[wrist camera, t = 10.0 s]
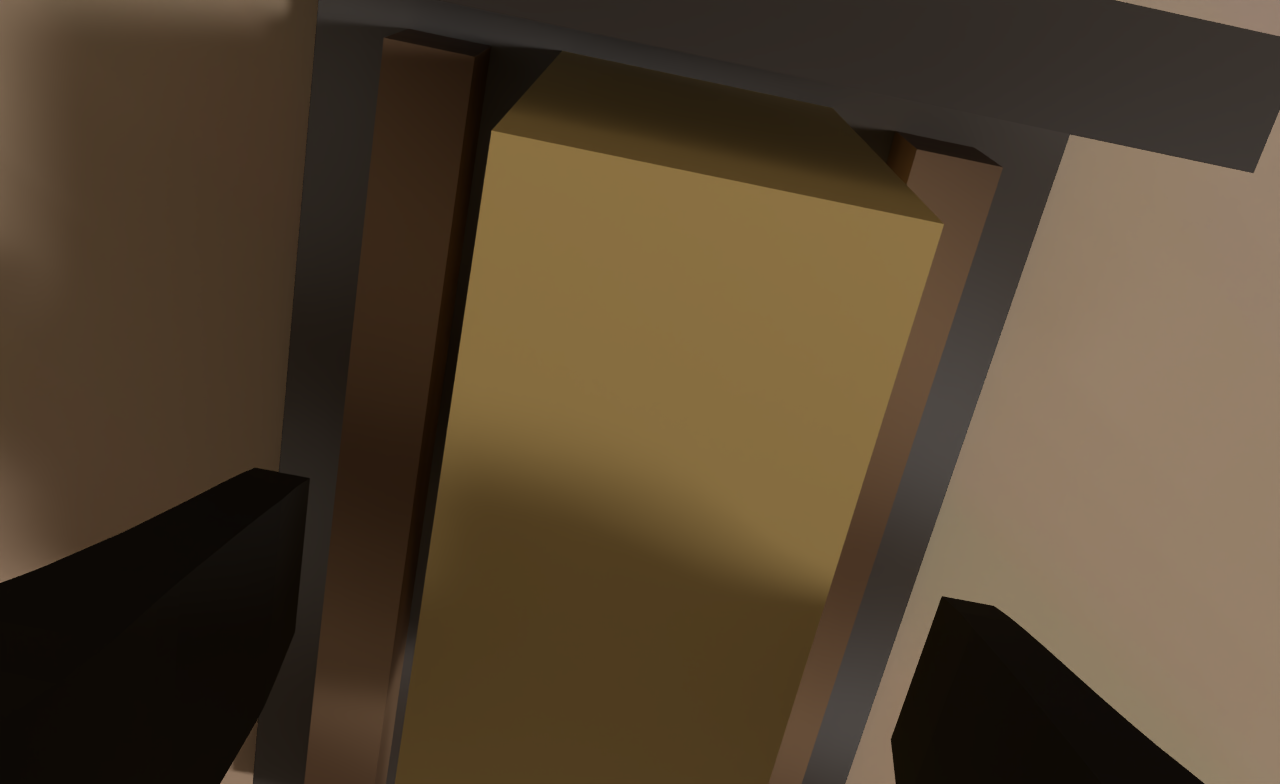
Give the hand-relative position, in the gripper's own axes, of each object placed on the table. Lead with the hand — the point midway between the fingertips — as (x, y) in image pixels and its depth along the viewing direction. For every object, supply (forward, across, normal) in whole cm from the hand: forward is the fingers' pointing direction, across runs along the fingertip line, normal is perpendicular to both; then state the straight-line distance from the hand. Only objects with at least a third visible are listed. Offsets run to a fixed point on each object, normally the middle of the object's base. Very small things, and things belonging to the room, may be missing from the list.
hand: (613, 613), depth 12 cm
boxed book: (+6, 0, 0) cm, 6 cm away
